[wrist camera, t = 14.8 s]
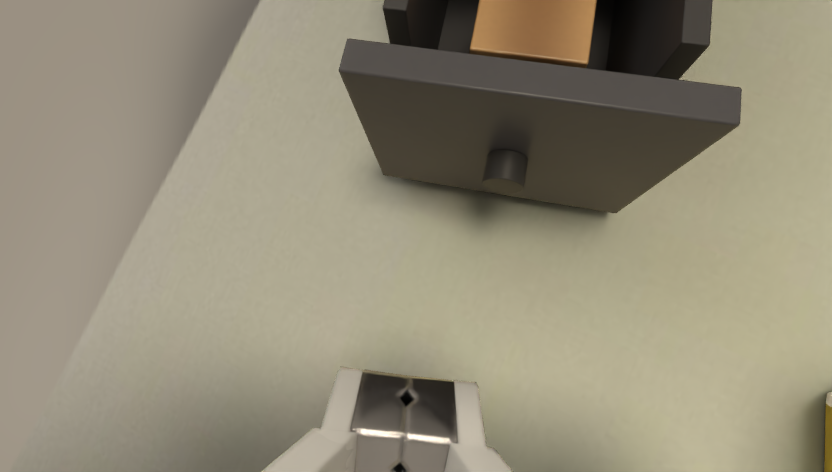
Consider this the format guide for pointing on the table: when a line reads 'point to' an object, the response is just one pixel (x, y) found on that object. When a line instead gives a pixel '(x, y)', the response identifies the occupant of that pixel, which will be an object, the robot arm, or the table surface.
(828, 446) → the juice carton
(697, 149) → the open drawer with knob
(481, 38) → the block
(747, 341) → the table surface
